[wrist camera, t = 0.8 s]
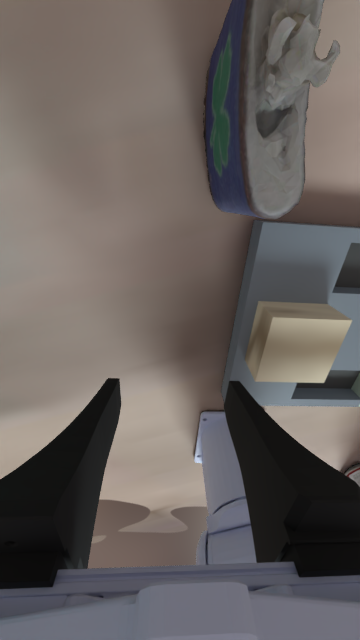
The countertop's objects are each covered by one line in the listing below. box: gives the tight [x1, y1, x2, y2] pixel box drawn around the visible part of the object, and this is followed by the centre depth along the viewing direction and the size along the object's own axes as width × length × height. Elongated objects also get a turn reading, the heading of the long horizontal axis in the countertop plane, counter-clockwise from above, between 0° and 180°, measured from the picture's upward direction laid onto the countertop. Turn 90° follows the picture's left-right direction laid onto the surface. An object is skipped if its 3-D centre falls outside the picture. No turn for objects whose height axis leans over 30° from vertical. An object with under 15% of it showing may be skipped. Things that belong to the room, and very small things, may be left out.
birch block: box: [245, 301, 352, 383], centre depth 19 cm, size 6×6×3 cm
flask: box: [203, 0, 340, 219], centre depth 11 cm, size 9×3×11 cm, turn 4°
